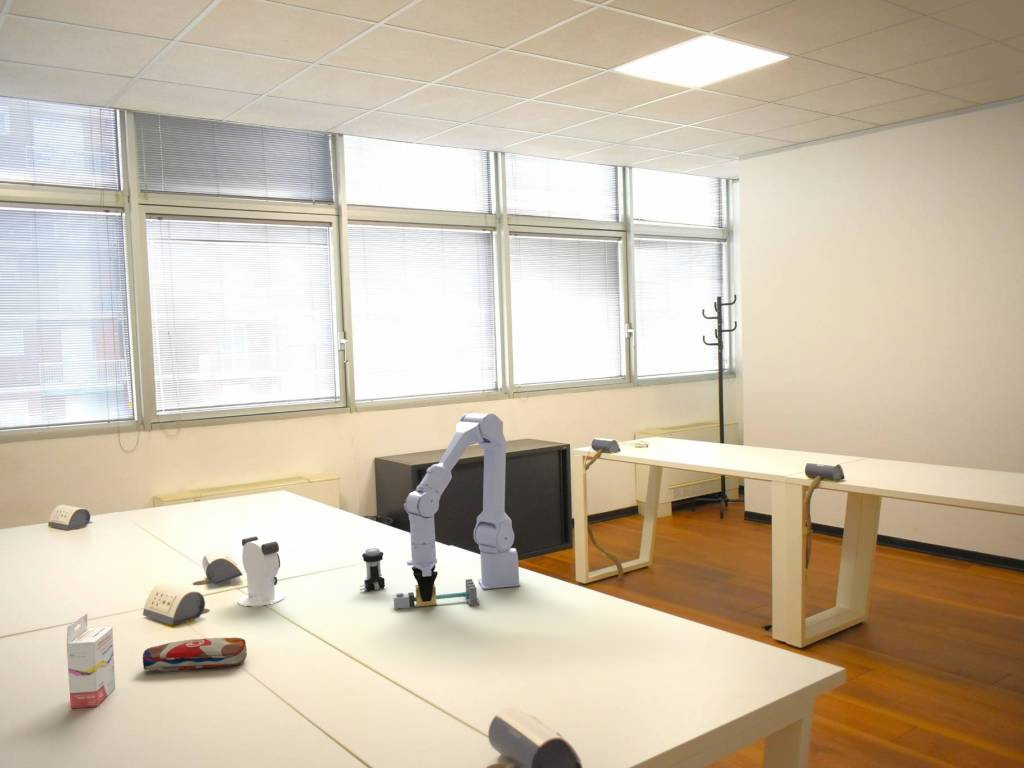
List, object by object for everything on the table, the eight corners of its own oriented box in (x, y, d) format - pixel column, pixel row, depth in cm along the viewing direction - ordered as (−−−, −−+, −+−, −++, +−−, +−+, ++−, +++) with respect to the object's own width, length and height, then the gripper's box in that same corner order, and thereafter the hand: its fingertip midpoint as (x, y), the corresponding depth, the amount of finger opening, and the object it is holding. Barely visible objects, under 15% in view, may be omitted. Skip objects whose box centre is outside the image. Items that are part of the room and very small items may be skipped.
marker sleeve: (435, 600, 202) (434, 583, 202) (436, 604, 198) (435, 587, 198) (416, 602, 201) (415, 585, 201) (417, 606, 198) (416, 589, 197)
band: (413, 603, 200) (413, 592, 200) (414, 607, 198) (414, 595, 198) (408, 604, 200) (408, 592, 200) (409, 607, 198) (408, 596, 197)
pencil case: (226, 679, 159) (225, 653, 159) (133, 676, 163) (131, 651, 163) (254, 657, 170) (253, 633, 170) (166, 655, 174) (164, 631, 173)
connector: (408, 604, 200) (408, 591, 200) (409, 607, 198) (408, 594, 197) (394, 605, 200) (393, 592, 199) (394, 609, 197) (393, 595, 197)
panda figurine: (295, 598, 209) (292, 538, 208) (254, 610, 201) (250, 548, 200) (269, 590, 217) (266, 532, 217) (229, 601, 209) (225, 541, 208)
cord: (470, 595, 202) (470, 591, 202) (470, 596, 201) (470, 592, 201) (403, 601, 199) (403, 597, 199) (403, 603, 198) (403, 598, 198)
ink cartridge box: (98, 707, 149) (93, 625, 148) (69, 709, 148) (64, 627, 148) (117, 687, 157) (112, 610, 156) (90, 689, 157) (84, 612, 156)
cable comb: (473, 594, 206) (473, 577, 206) (479, 605, 197) (478, 588, 197) (464, 595, 206) (463, 578, 206) (469, 606, 197) (468, 589, 197)
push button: (364, 594, 210) (362, 554, 210) (355, 589, 214) (353, 551, 214) (388, 588, 214) (386, 550, 213) (379, 584, 218) (377, 546, 218)
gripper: (404, 536, 205) (407, 591, 206) (408, 550, 191) (411, 609, 192) (433, 534, 207) (435, 588, 207) (439, 547, 192) (441, 606, 193)
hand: (425, 598), depth 200 cm, fingers closed on marker sleeve, 3 cm apart
